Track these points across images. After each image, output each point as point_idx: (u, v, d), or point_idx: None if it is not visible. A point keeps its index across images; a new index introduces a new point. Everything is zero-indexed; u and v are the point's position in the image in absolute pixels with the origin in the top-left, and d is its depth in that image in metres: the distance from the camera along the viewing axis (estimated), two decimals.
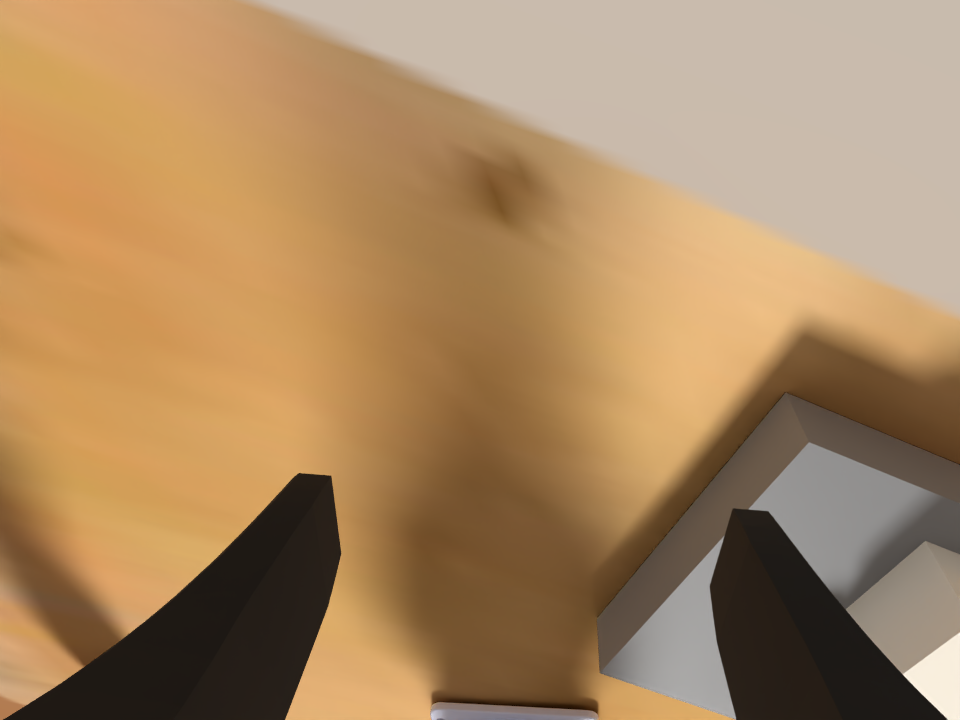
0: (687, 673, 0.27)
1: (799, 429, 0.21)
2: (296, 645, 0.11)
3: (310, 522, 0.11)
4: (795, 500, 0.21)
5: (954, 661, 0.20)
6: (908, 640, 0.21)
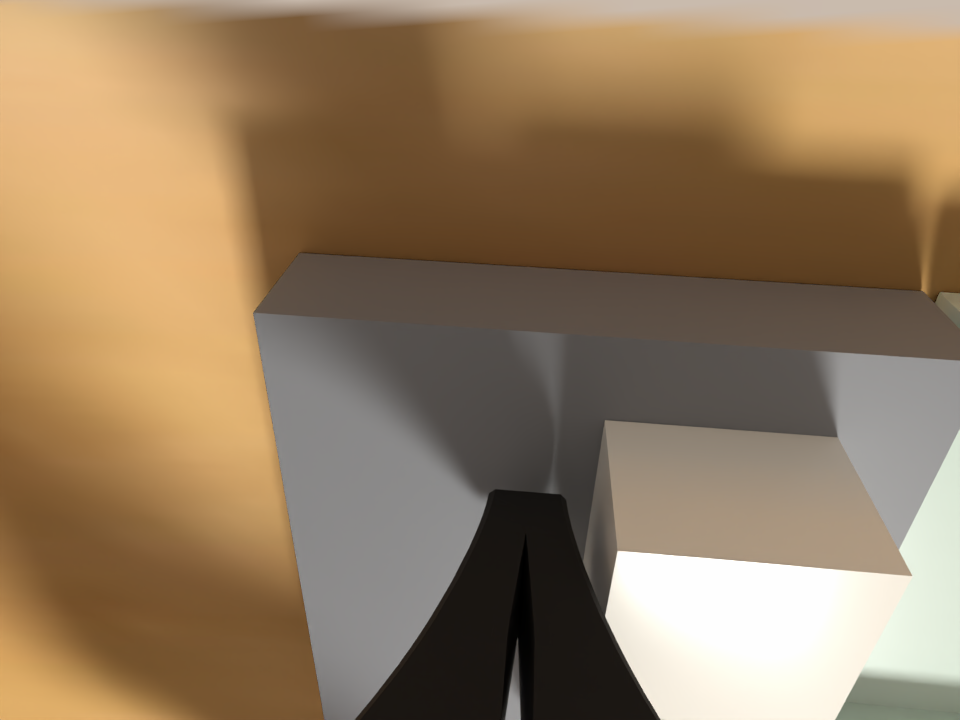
0: None
1: (269, 299, 0.12)
2: (511, 666, 0.11)
3: (525, 541, 0.11)
4: (323, 414, 0.13)
5: (656, 627, 0.11)
6: None
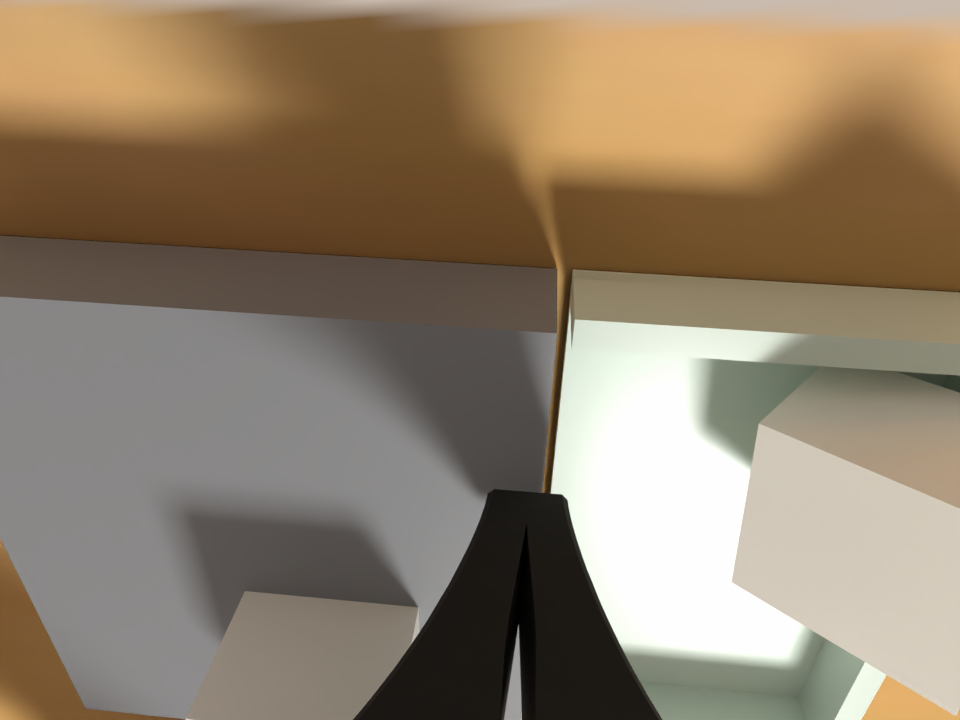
0: (171, 683, 0.18)
1: None
2: (509, 665, 0.11)
3: (524, 540, 0.11)
4: None
5: None
6: None
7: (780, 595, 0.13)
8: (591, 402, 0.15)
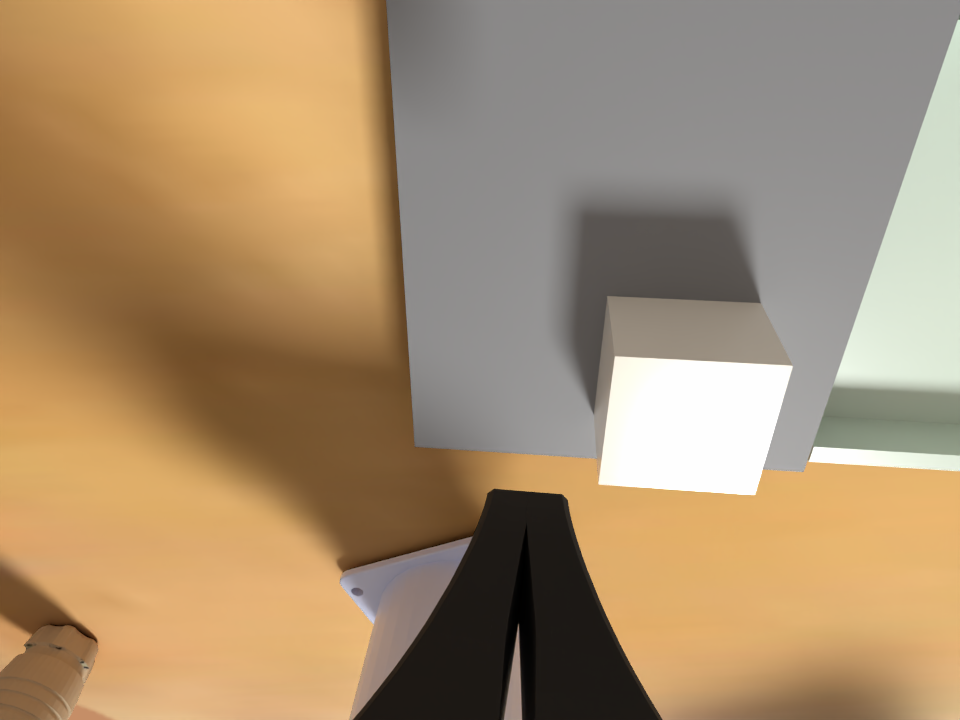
0: (505, 409, 0.21)
1: None
2: (509, 666, 0.11)
3: (524, 541, 0.11)
4: (434, 85, 0.16)
5: None
6: None
7: None
8: None
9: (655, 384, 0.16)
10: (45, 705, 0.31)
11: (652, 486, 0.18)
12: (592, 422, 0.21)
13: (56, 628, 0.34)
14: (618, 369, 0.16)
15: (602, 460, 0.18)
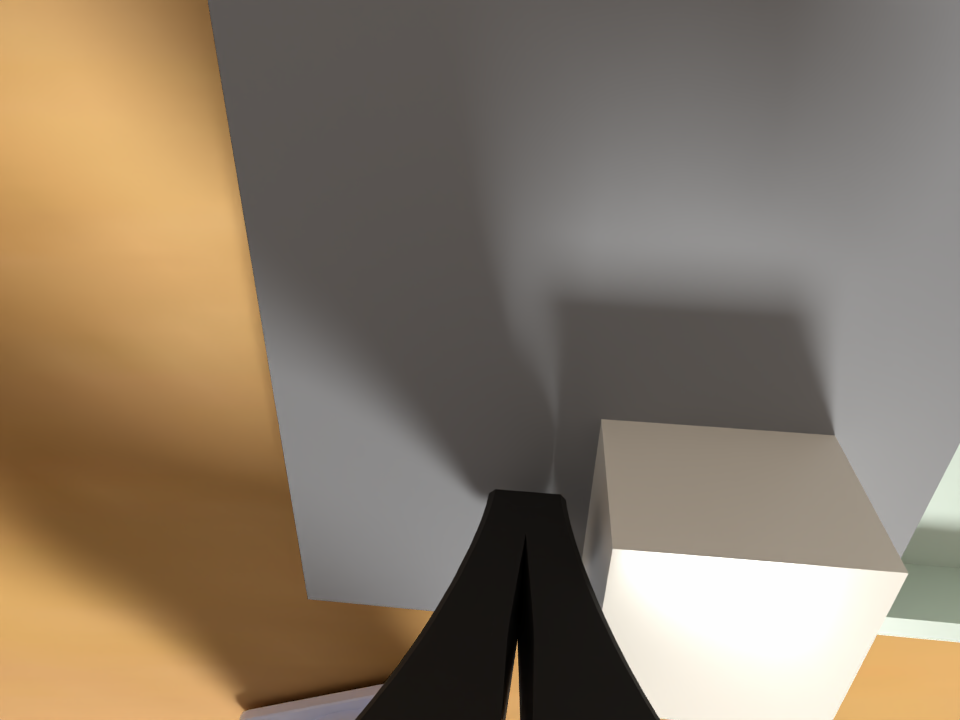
0: (431, 559, 0.15)
1: None
2: (511, 666, 0.11)
3: (526, 541, 0.11)
4: (293, 97, 0.10)
5: None
6: None
7: None
8: None
9: (678, 589, 0.10)
10: None
11: (668, 716, 0.12)
12: None
13: None
14: (618, 566, 0.10)
15: None
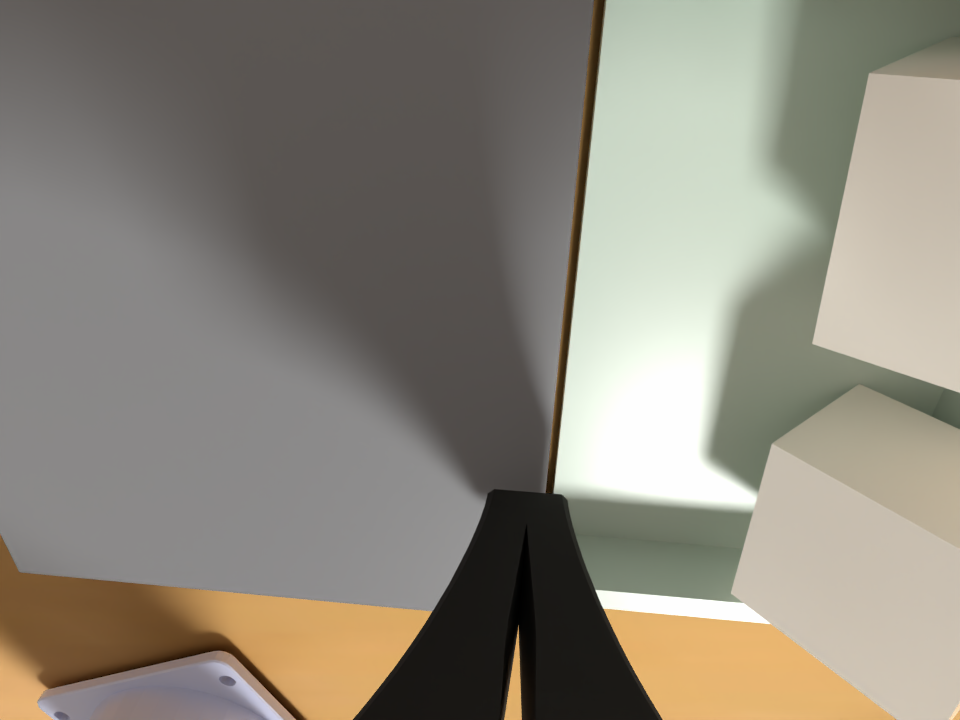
0: (118, 531, 0.15)
1: None
2: (509, 666, 0.11)
3: (524, 540, 0.11)
4: None
5: None
6: None
7: (882, 341, 0.10)
8: (631, 132, 0.12)
9: None
10: None
11: None
12: (237, 551, 0.15)
13: None
14: None
15: None
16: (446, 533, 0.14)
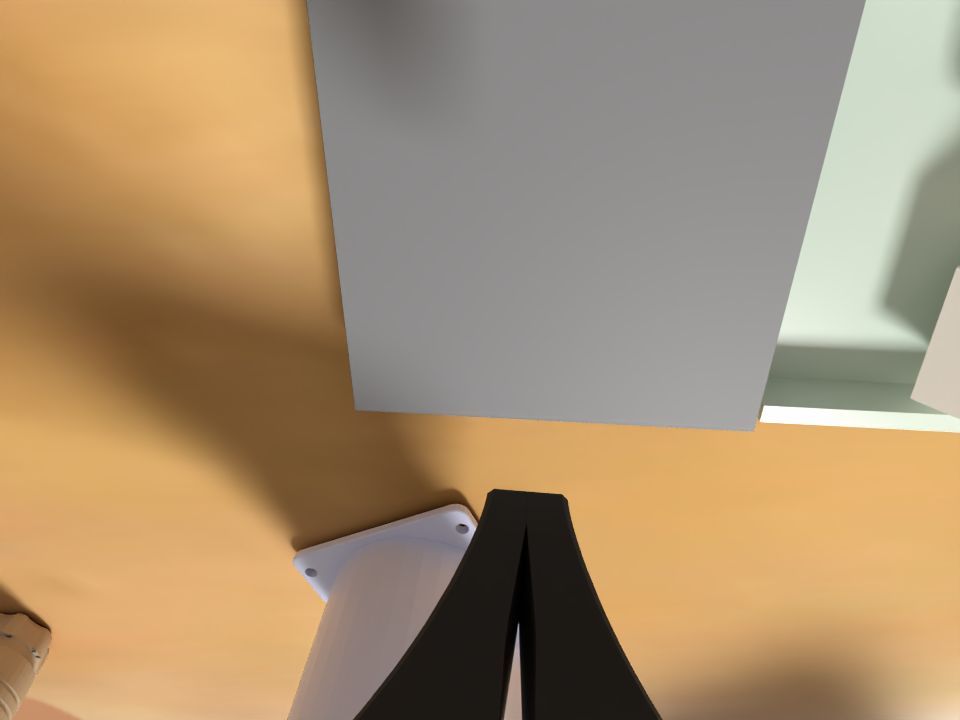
0: (445, 368, 0.20)
1: None
2: (509, 665, 0.11)
3: (524, 541, 0.11)
4: (352, 18, 0.16)
5: None
6: None
7: None
8: (859, 49, 0.17)
9: None
10: None
11: None
12: (535, 381, 0.20)
13: (8, 616, 0.33)
14: None
15: None
16: (701, 356, 0.19)
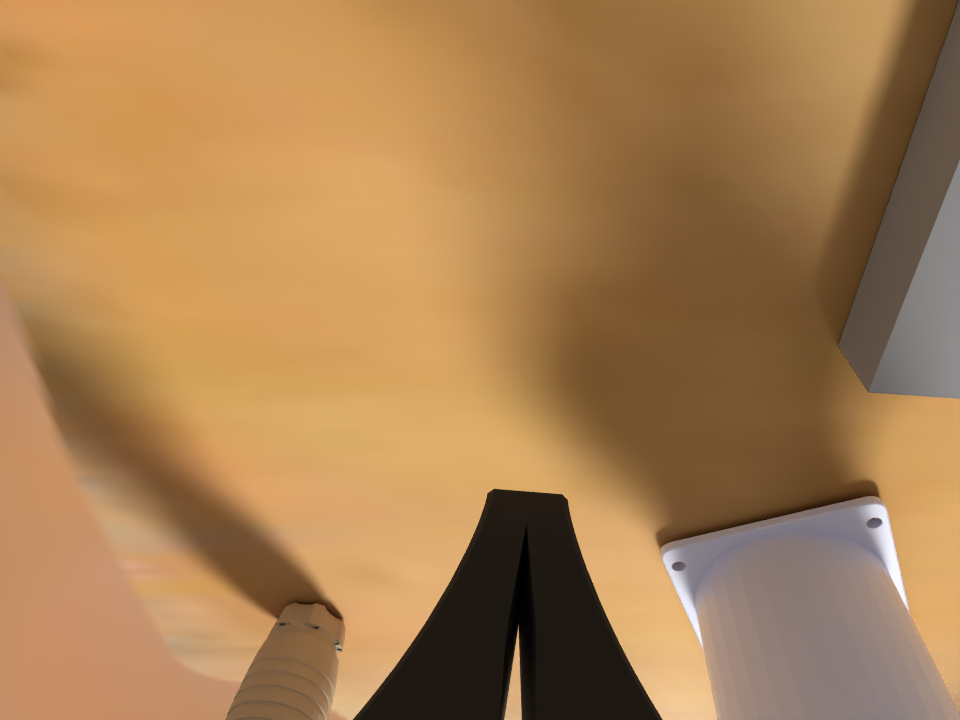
0: None
1: None
2: (509, 665, 0.11)
3: (524, 540, 0.11)
4: None
5: None
6: None
7: None
8: None
9: None
10: (319, 689, 0.28)
11: None
12: None
13: (305, 606, 0.31)
14: None
15: None
16: None
